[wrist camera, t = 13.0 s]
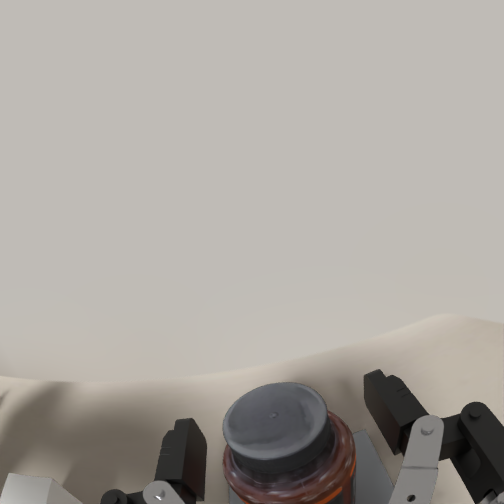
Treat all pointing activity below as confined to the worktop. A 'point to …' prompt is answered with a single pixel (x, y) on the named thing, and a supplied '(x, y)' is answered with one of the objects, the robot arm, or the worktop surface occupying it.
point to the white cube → (34, 491)
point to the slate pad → (360, 475)
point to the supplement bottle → (288, 448)
